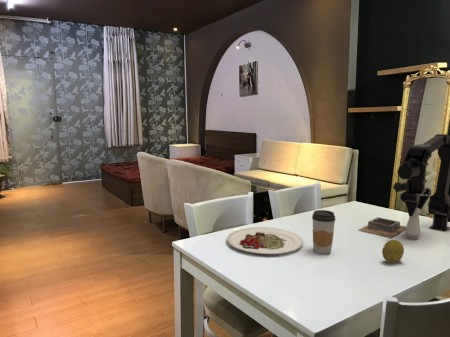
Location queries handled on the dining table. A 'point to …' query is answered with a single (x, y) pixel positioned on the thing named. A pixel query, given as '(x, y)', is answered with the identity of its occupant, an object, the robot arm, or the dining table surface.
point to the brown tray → (383, 227)
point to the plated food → (265, 240)
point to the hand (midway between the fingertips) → (414, 214)
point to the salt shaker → (413, 226)
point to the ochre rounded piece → (393, 251)
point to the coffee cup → (323, 231)
